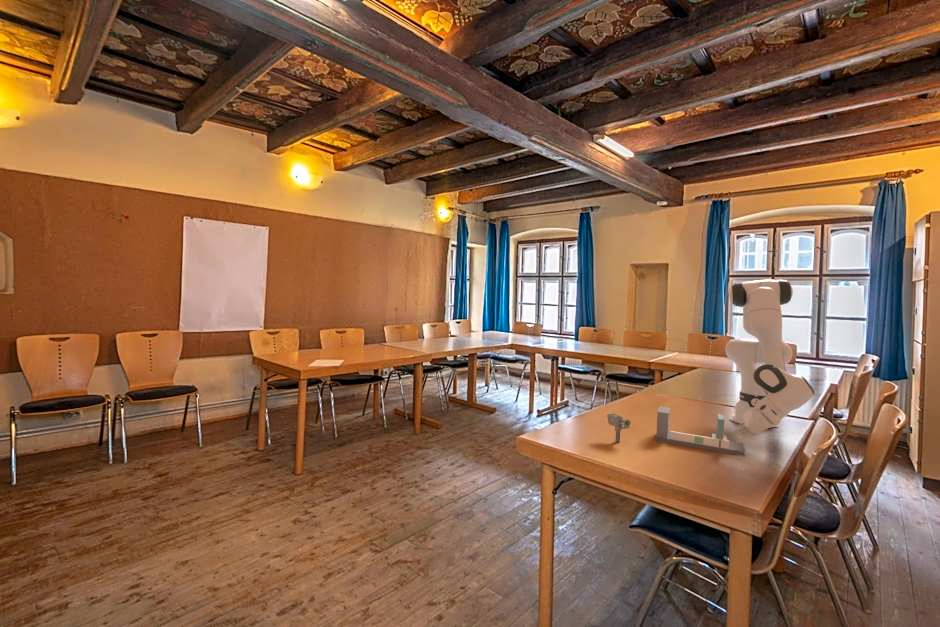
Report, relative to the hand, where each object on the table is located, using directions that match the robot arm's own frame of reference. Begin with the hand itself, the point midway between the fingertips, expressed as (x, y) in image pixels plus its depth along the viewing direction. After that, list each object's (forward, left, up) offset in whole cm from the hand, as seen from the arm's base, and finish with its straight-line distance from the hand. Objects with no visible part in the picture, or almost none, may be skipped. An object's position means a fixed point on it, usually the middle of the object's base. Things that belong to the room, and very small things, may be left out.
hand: (736, 432), depth 165 cm
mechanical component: (+16, -40, -7) cm, 44 cm away
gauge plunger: (+1, -5, -5) cm, 7 cm away
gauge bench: (0, -12, -7) cm, 14 cm away
